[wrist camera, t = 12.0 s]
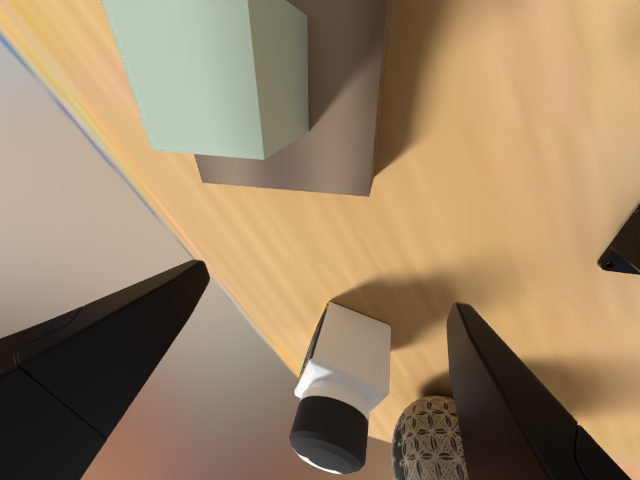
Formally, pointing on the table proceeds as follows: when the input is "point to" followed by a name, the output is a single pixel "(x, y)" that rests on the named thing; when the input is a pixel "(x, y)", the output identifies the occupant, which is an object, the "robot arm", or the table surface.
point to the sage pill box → (215, 73)
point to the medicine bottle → (340, 389)
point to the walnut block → (327, 107)
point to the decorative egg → (428, 442)
